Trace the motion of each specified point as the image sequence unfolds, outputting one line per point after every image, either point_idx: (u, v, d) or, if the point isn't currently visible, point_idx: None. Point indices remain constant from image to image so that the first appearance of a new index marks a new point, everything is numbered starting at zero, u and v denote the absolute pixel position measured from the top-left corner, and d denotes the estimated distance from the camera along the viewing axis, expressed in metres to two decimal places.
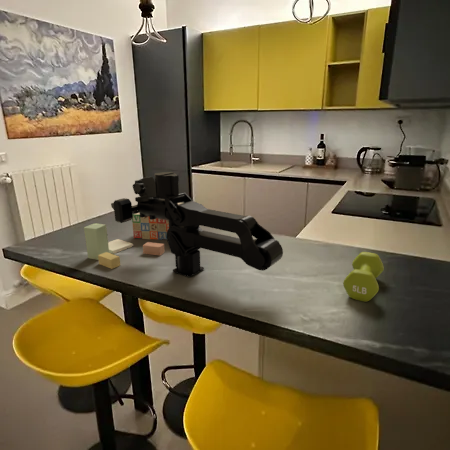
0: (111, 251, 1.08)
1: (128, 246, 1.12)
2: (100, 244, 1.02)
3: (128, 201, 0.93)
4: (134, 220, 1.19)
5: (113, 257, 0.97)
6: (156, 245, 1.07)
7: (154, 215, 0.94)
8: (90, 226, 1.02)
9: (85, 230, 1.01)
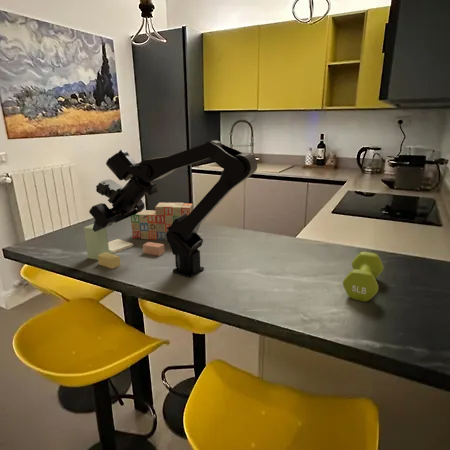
0: (111, 251, 1.08)
1: (128, 246, 1.12)
2: (100, 244, 1.02)
3: (102, 203, 0.91)
4: (132, 220, 1.19)
5: (113, 257, 0.97)
6: (156, 245, 1.06)
7: (131, 198, 0.92)
8: (90, 226, 1.02)
9: (85, 230, 1.01)
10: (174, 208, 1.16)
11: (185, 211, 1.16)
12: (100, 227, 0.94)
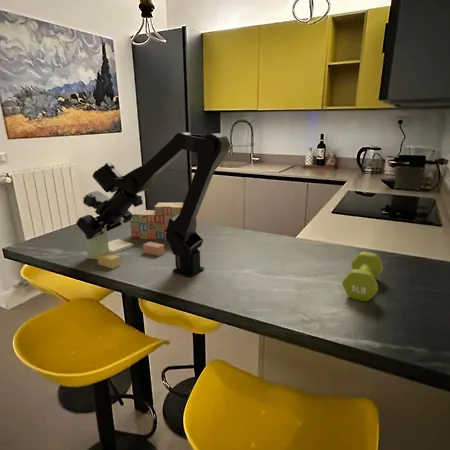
0: (111, 251, 1.08)
1: (128, 246, 1.12)
2: (100, 244, 1.02)
3: (88, 215, 0.94)
4: (132, 220, 1.19)
5: (113, 257, 0.98)
6: (155, 245, 1.06)
7: (117, 209, 0.95)
8: None
9: None
10: (173, 208, 1.16)
11: None
12: None
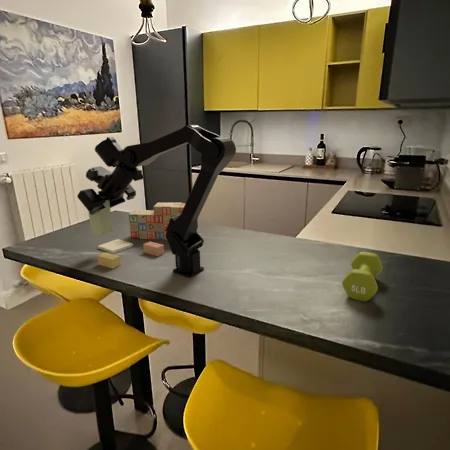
0: (111, 251, 1.08)
1: (128, 246, 1.12)
2: (102, 219, 1.02)
3: (90, 189, 0.95)
4: (131, 220, 1.19)
5: (114, 257, 0.98)
6: (155, 245, 1.06)
7: (117, 184, 0.94)
8: None
9: None
10: (172, 208, 1.16)
11: None
12: (95, 210, 0.99)
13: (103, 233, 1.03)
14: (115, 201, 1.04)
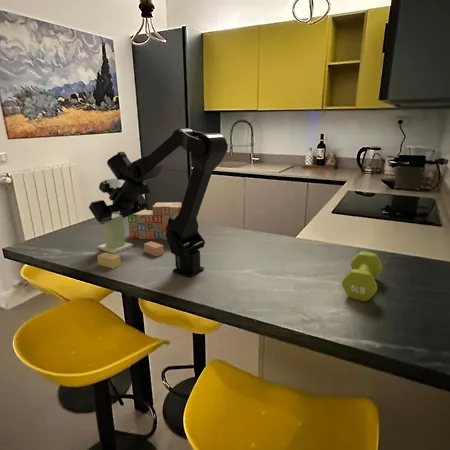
0: (111, 251, 1.08)
1: (128, 247, 1.12)
2: (115, 233, 1.09)
3: (101, 200, 1.01)
4: (130, 220, 1.19)
5: (114, 257, 0.98)
6: (154, 245, 1.06)
7: (125, 196, 0.99)
8: None
9: None
10: (171, 208, 1.16)
11: None
12: (103, 221, 1.04)
13: (115, 246, 1.10)
14: (130, 211, 1.10)
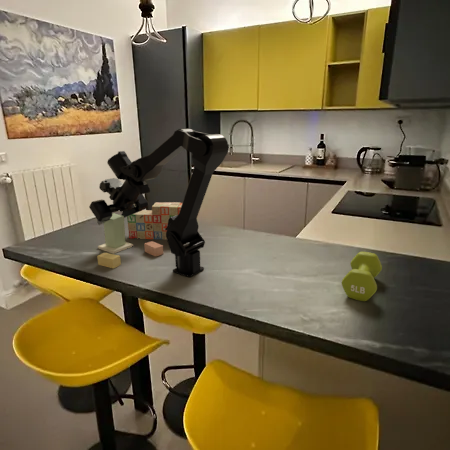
0: (111, 251, 1.08)
1: (128, 247, 1.12)
2: (116, 233, 1.09)
3: (101, 200, 1.00)
4: (129, 220, 1.19)
5: (114, 257, 0.98)
6: (154, 245, 1.06)
7: (126, 196, 0.99)
8: None
9: None
10: (170, 208, 1.16)
11: None
12: None
13: (116, 246, 1.10)
14: (133, 210, 1.10)
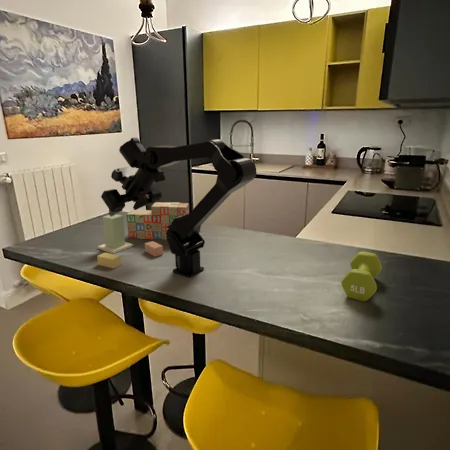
0: (111, 251, 1.08)
1: (128, 247, 1.12)
2: (116, 233, 1.09)
3: (114, 189, 0.95)
4: (128, 220, 1.19)
5: (114, 257, 0.98)
6: (154, 246, 1.06)
7: (140, 185, 0.94)
8: (108, 216, 1.09)
9: (103, 219, 1.09)
10: (170, 208, 1.16)
11: (181, 211, 1.17)
12: (113, 212, 0.98)
13: (116, 246, 1.10)
14: (145, 201, 1.05)
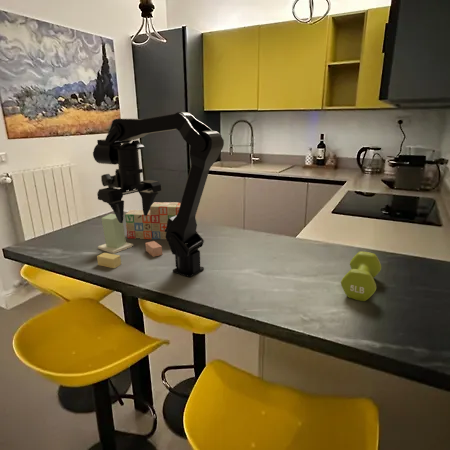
0: (111, 252, 1.08)
1: (128, 247, 1.12)
2: (117, 233, 1.09)
3: None
4: (127, 220, 1.19)
5: (114, 256, 0.98)
6: (153, 246, 1.06)
7: (125, 166, 0.91)
8: (107, 217, 1.08)
9: (102, 221, 1.08)
10: (169, 208, 1.17)
11: None
12: (118, 211, 0.92)
13: (118, 246, 1.10)
14: (148, 196, 1.00)
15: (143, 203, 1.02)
